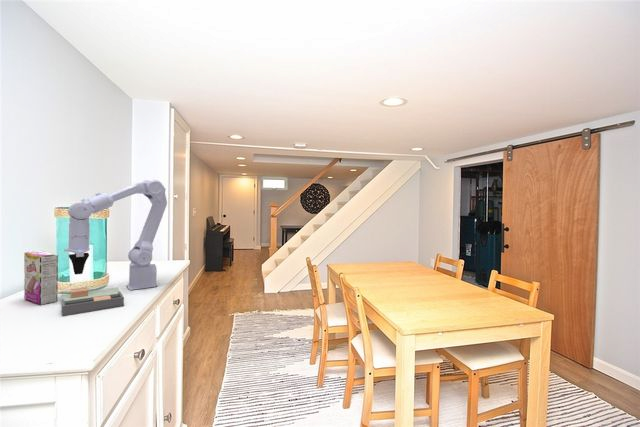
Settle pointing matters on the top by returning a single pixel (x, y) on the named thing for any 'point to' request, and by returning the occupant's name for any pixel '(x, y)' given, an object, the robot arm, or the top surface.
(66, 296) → the board
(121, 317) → the top surface
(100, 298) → the tile
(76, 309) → the tray
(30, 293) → the candy bar box
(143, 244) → the robot arm
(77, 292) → the tile
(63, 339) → the top surface
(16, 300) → the top surface
